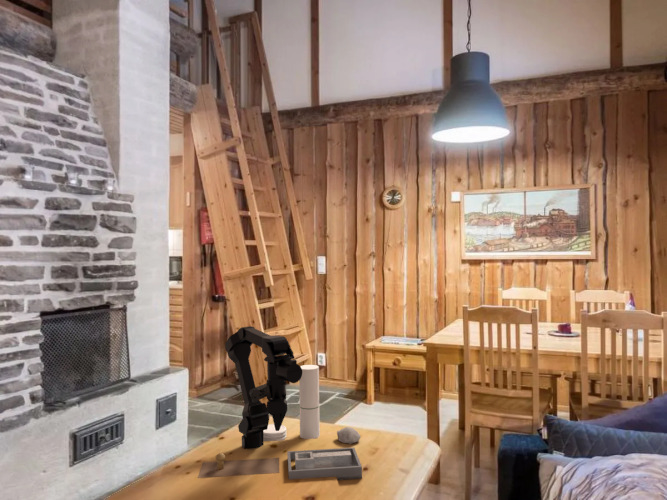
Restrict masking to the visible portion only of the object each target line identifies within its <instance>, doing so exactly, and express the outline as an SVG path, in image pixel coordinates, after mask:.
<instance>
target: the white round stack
mask: <svg viewBox="0 0 667 500" xmlns="http://www.w3.org/2000/svg"><path fill="white" fill-rule="evenodd" d="M287 436H288V435H287V427H286V426H285V425H283V424H282V425H281V427H280V430H279V431H276V430H275V426H274V423H270V424H269V423H268V428H267V430H263V437H264V442H278V441H282V442H283V441H284V440H285V439H286V438H287Z"/></svg>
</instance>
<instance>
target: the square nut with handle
mask: <svg viewBox="0 0 667 500" xmlns="http://www.w3.org/2000/svg"><path fill="white" fill-rule="evenodd" d="M294 465H295V466H294V467H295V470H301V469H317V468H332V467H348V466H352V464H351V453H350V451H341V452H325V453H312V452H300V453H295V459H294Z"/></svg>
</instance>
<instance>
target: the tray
mask: <svg viewBox="0 0 667 500" xmlns="http://www.w3.org/2000/svg"><path fill="white" fill-rule="evenodd" d="M341 451H350V453H351V464H352V466H348V467H332V468H317V469H301V470H296V469H292V460H295V453H300V452H312V453H325V452H341ZM286 453H287V454H286V455H287V468H288V469H287V471H288V480H299V479H301V480H304V479H316V478H331V477H336V480H337V481H347V480H359V479H361V480H362V479H363V467H362V463H361V461H360V458H359V456H358V453H357V451H356V449H355V447H341V448H325V449H324V448H323V449H311V450H310V449H308V450H306V449H304V450H290V451H289V450H288V451H287V452H286Z"/></svg>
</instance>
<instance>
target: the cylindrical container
mask: <svg viewBox="0 0 667 500" xmlns="http://www.w3.org/2000/svg"><path fill="white" fill-rule="evenodd" d="M299 366H300V367H301V369H302V377H301V379H300V380H299V381H298V382H299V385H298V387H299V388H298V389H299V391H298V393H299V437H300V438H301V439H303V440H312V439H313V440H314V439H317V438H319V437H320V432H321V431H320V430H321V429H320V423H321V422H320V366H319V365H316V364H304V365H299Z"/></svg>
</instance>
